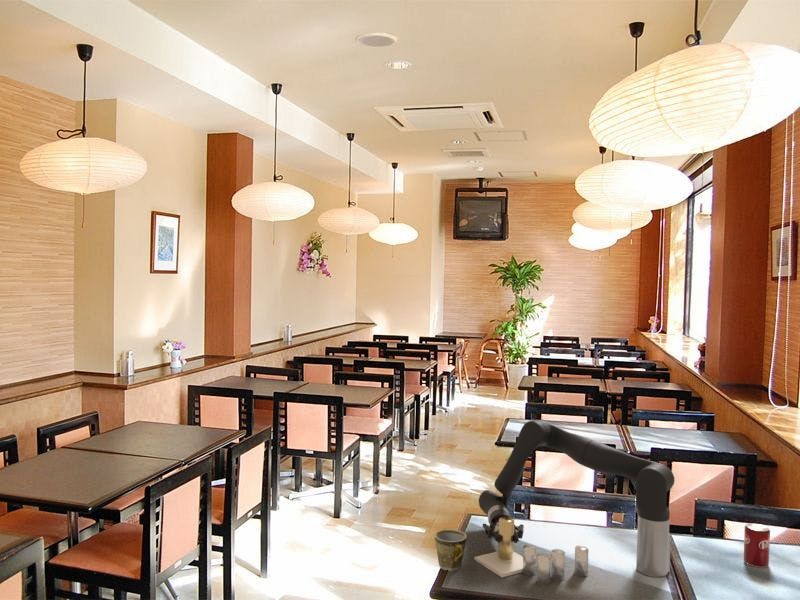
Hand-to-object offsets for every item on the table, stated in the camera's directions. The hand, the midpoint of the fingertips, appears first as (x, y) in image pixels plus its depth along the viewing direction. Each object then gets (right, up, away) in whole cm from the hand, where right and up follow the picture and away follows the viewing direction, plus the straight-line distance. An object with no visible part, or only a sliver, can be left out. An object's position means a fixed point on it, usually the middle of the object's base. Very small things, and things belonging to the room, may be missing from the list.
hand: (507, 539), depth 207 cm
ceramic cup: (-17, -9, -1) cm, 19 cm away
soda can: (+82, -10, +7) cm, 83 cm away
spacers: (+14, -9, -3) cm, 17 cm away
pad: (0, -9, +3) cm, 9 cm away
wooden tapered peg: (0, -6, +3) cm, 7 cm away
